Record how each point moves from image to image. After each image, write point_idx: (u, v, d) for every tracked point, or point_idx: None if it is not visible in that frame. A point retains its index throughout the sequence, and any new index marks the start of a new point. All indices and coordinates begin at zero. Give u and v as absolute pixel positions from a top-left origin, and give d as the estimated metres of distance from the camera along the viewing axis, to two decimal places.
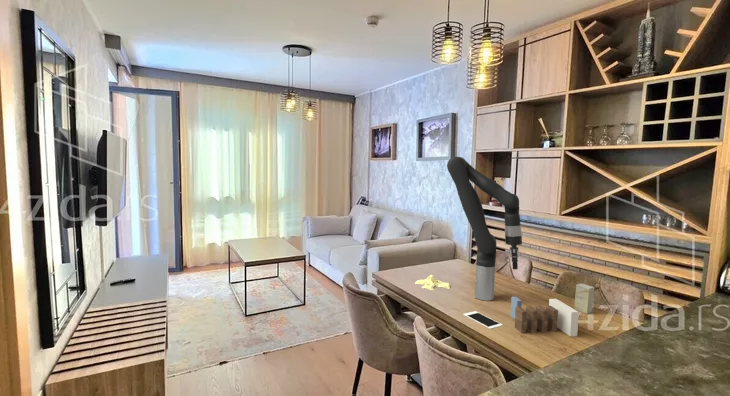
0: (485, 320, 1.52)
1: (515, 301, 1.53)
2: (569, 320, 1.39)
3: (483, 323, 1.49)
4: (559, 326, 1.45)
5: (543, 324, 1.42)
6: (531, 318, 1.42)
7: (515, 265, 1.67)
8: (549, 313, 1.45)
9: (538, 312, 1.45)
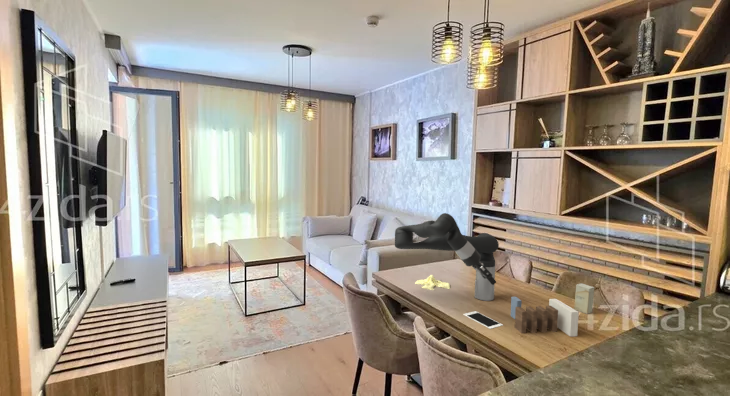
0: (485, 320, 1.52)
1: (515, 301, 1.53)
2: (569, 320, 1.39)
3: (483, 323, 1.49)
4: (559, 326, 1.45)
5: (543, 324, 1.42)
6: (531, 318, 1.42)
7: (492, 280, 1.47)
8: (549, 313, 1.45)
9: (538, 312, 1.45)
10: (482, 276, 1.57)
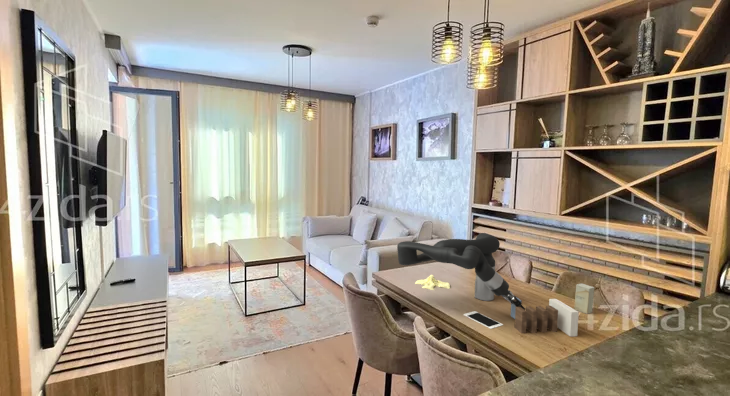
0: (485, 320, 1.52)
1: None
2: (569, 320, 1.39)
3: (483, 323, 1.49)
4: (559, 326, 1.45)
5: (543, 324, 1.42)
6: (531, 318, 1.42)
7: None
8: (549, 313, 1.45)
9: (538, 312, 1.45)
10: None
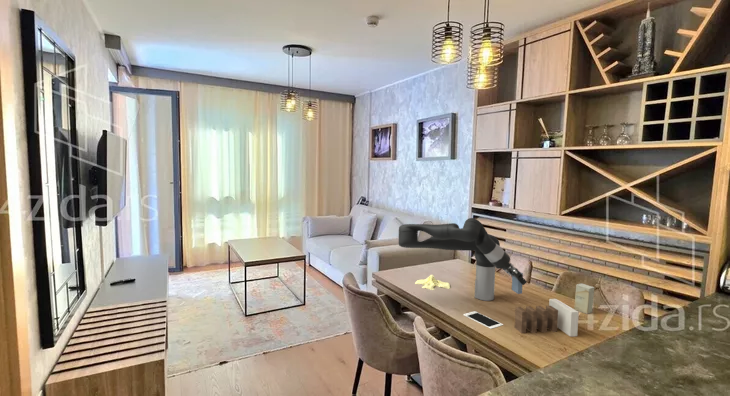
0: (485, 320, 1.52)
1: None
2: (569, 320, 1.39)
3: (484, 323, 1.49)
4: (559, 326, 1.45)
5: (543, 324, 1.42)
6: (531, 318, 1.42)
7: (523, 280, 1.50)
8: (549, 313, 1.45)
9: (538, 312, 1.45)
10: None
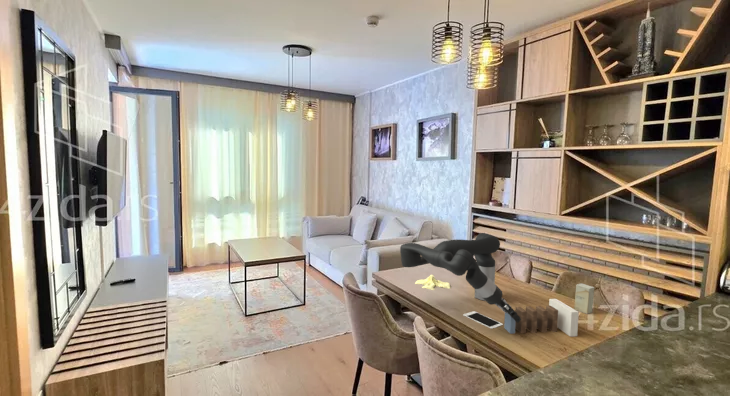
0: (485, 320, 1.52)
1: None
2: (569, 320, 1.39)
3: (484, 323, 1.49)
4: (559, 326, 1.45)
5: (543, 324, 1.42)
6: (531, 318, 1.42)
7: (517, 318, 1.38)
8: (549, 313, 1.45)
9: (538, 312, 1.45)
10: None
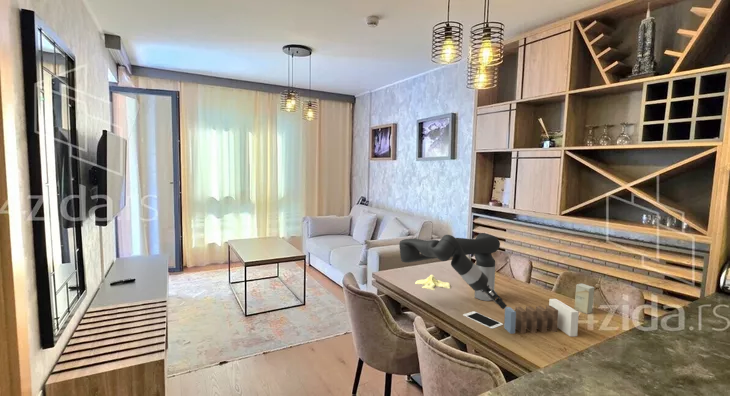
0: (485, 320, 1.52)
1: (509, 312, 1.42)
2: (569, 320, 1.39)
3: (484, 323, 1.49)
4: (559, 326, 1.45)
5: (543, 324, 1.42)
6: (531, 318, 1.42)
7: (502, 304, 1.36)
8: (549, 313, 1.45)
9: (538, 312, 1.45)
10: None
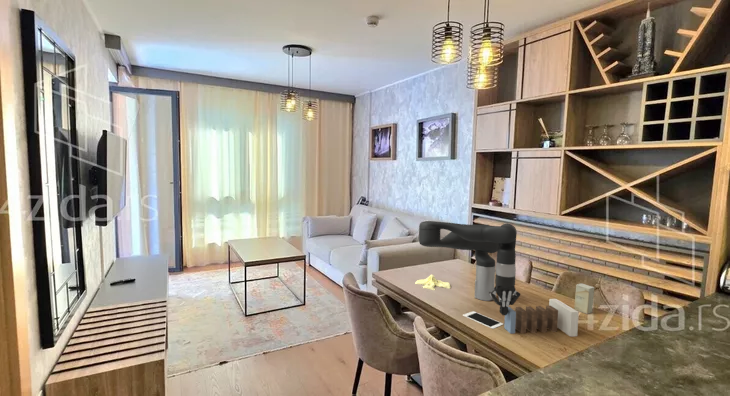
0: (485, 320, 1.52)
1: (509, 312, 1.42)
2: (569, 320, 1.39)
3: (484, 323, 1.49)
4: (559, 326, 1.45)
5: (543, 324, 1.42)
6: (531, 318, 1.42)
7: None
8: (549, 313, 1.45)
9: (538, 312, 1.45)
10: (504, 312, 1.41)
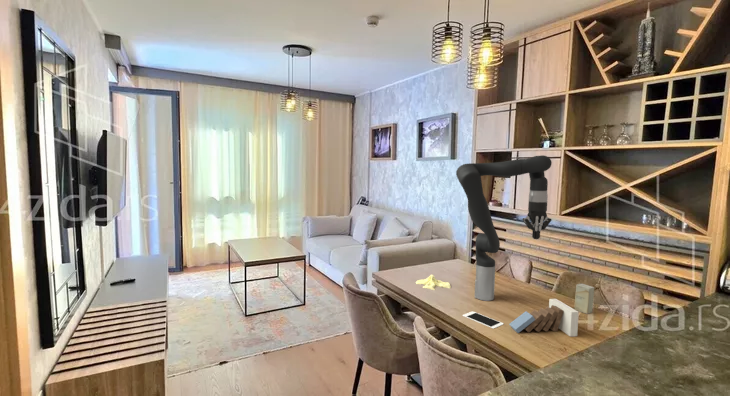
0: (485, 320, 1.53)
1: (529, 315, 1.43)
2: (569, 320, 1.39)
3: (485, 323, 1.49)
4: (559, 326, 1.45)
5: (548, 323, 1.42)
6: None
7: None
8: None
9: None
10: (536, 236, 1.55)
